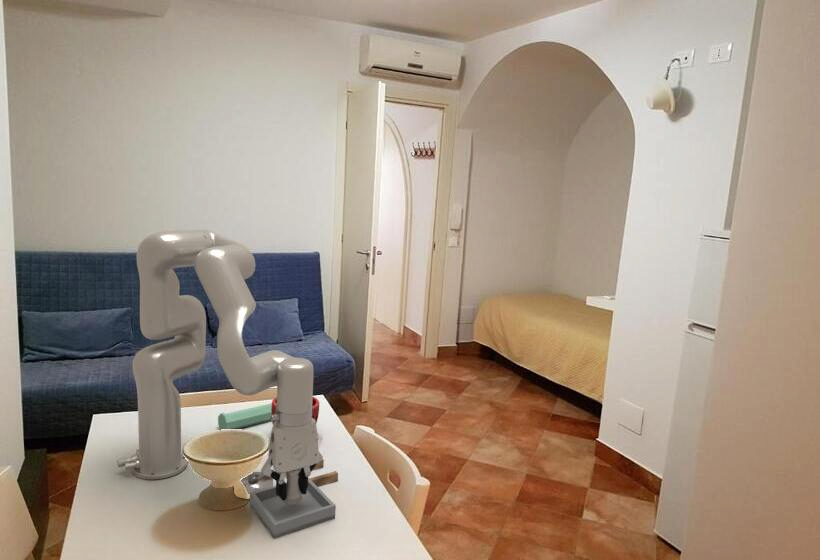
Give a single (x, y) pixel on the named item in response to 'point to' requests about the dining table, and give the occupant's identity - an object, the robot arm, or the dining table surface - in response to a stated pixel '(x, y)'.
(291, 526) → the tray
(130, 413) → the dining table surface
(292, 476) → the rook chess piece
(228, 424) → the mint green rod
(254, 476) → the pulley
